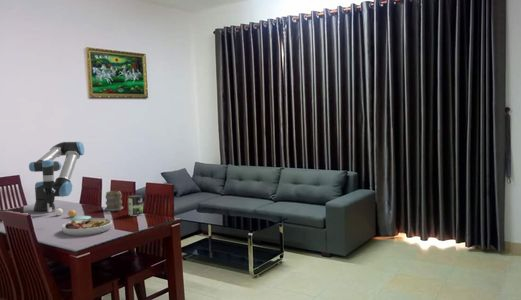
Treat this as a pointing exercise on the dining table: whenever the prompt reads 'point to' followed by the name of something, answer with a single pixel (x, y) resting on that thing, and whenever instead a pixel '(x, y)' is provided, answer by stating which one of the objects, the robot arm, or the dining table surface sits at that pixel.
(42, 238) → the dining table surface
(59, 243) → the dining table surface
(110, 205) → the tankard
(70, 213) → the object ball
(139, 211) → the coffee can
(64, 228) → the bowl
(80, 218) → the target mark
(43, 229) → the dining table surface
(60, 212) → the cue ball
